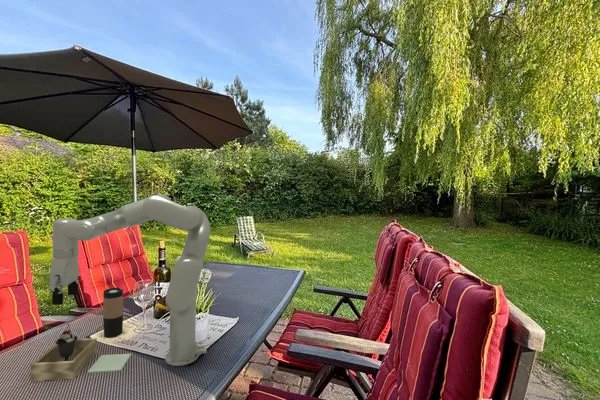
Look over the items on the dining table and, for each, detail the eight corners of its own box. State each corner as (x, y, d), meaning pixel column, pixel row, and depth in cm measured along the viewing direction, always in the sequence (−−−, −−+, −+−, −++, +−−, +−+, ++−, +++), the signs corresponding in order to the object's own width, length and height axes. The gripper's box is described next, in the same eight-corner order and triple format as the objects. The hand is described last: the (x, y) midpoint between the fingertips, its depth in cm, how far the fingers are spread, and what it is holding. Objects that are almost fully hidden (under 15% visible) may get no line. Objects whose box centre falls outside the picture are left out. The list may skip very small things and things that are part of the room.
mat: (131, 355, 125) (131, 353, 125) (120, 371, 114) (120, 369, 114) (101, 356, 123) (101, 355, 123) (87, 373, 113) (87, 371, 113)
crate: (96, 353, 126) (96, 338, 126) (73, 379, 109) (73, 362, 109) (60, 355, 124) (60, 340, 123) (31, 382, 107) (31, 364, 107)
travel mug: (100, 339, 137) (100, 293, 136) (106, 331, 144) (106, 288, 143) (120, 337, 139) (120, 292, 138) (125, 329, 146) (125, 287, 145)
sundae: (74, 359, 121) (74, 321, 120) (80, 366, 117) (80, 326, 116) (52, 366, 116) (52, 326, 115) (58, 374, 112) (58, 332, 111)
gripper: (67, 248, 122) (67, 291, 123) (38, 258, 105) (38, 309, 106) (88, 248, 123) (88, 291, 124) (63, 258, 106) (63, 308, 107)
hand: (65, 299), depth 115 cm, fingers open, 9 cm apart
